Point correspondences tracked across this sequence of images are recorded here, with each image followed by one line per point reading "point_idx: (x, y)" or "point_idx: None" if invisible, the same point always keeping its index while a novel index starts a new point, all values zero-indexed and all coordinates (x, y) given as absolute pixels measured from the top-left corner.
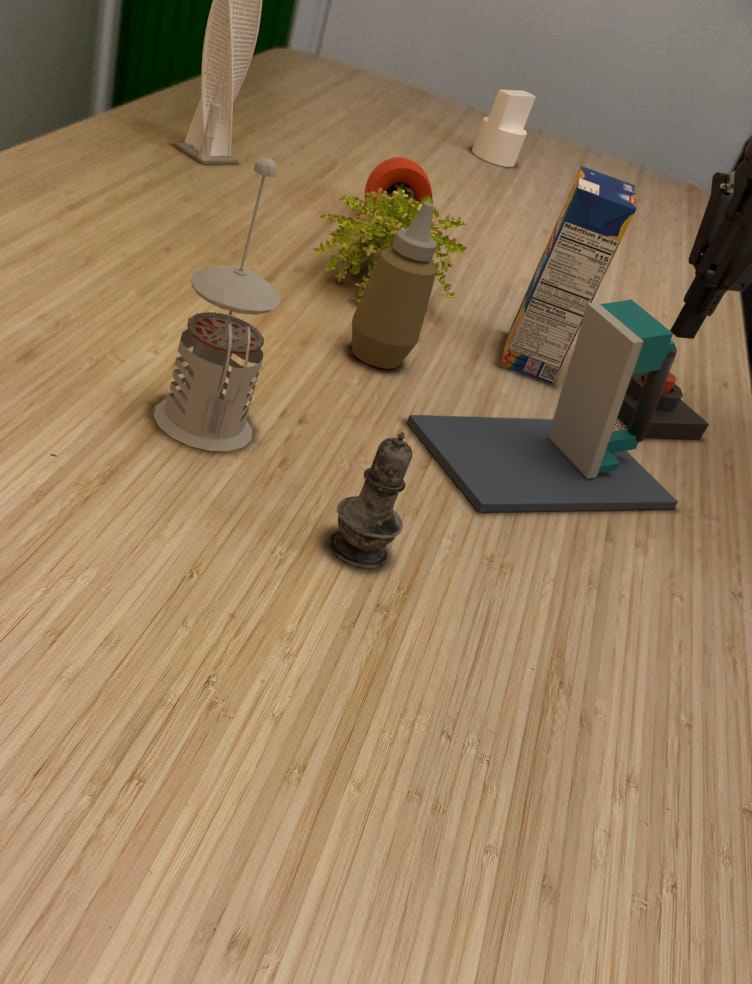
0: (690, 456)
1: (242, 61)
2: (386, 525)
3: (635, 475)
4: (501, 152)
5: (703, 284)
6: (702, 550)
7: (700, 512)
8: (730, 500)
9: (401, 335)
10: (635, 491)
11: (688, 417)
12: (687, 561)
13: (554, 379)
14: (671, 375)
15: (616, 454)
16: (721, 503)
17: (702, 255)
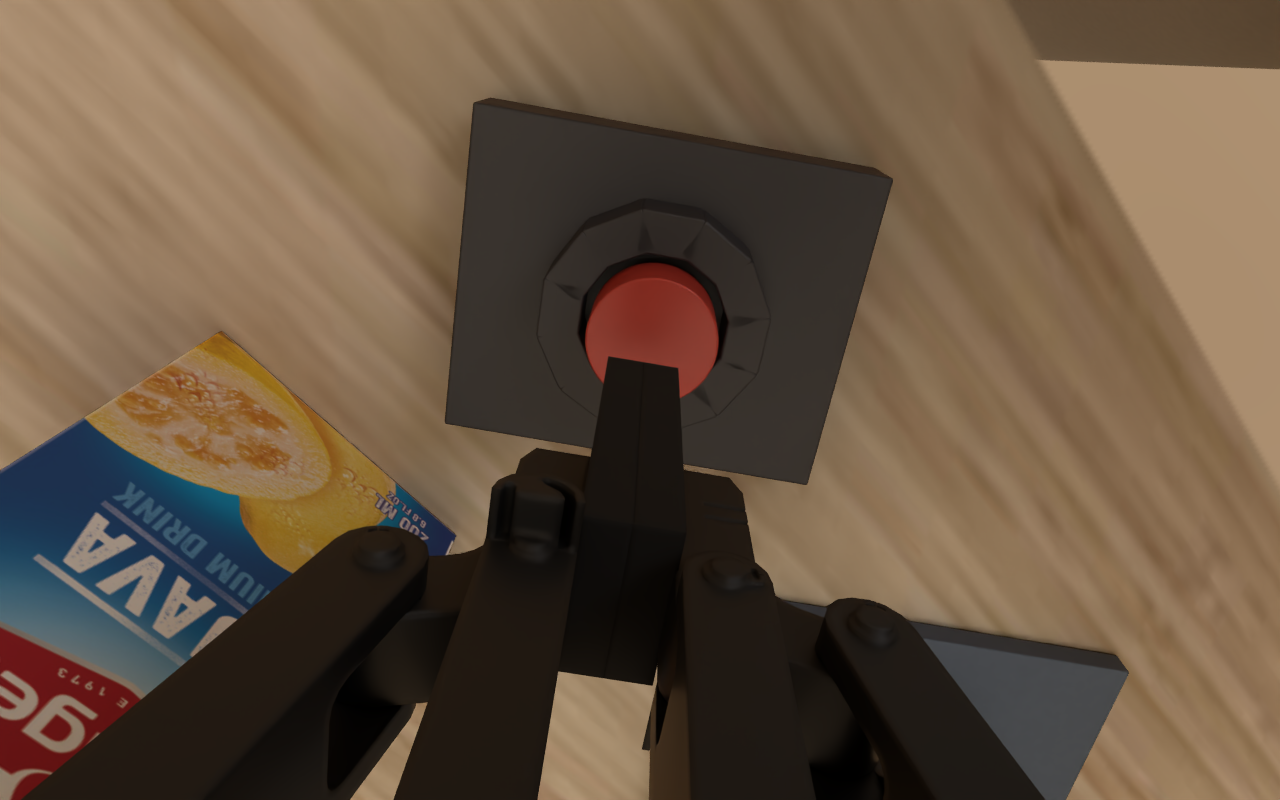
0: (945, 334)
1: None
2: None
3: (983, 703)
4: None
5: (623, 675)
6: (1270, 716)
7: (1168, 581)
8: (1187, 412)
9: None
10: (1036, 757)
11: (825, 253)
12: (1269, 787)
13: (450, 546)
14: (667, 297)
15: None
16: (1179, 464)
17: (366, 671)
